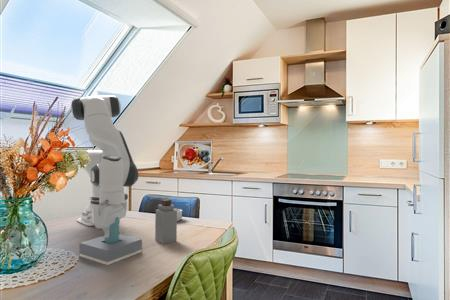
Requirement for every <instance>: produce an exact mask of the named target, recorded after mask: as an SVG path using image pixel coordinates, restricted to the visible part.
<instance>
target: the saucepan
mask: <svg viewBox="0 0 450 300" xmlns="http://www.w3.org/2000/svg"><path fill="white" fill-rule="evenodd" d="M174 210H177V222H180V220H182V219H183V218H182V217H183V209H182V208H181V209H180V208H174Z"/></svg>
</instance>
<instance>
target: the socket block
mask: <svg viewBox="0 0 450 300" xmlns="http://www.w3.org/2000/svg"><path fill="white" fill-rule="evenodd" d="M104 240H105V237H104V235H103V236H99V237H95V238H91V239H88V240H84V241H81V242H79V257H81V258H84V259H87V260H90V261H93V262H97V263H100V264H103V265H106V266H108V265H111V264H112V265H113V264H114V263H117V262H119V261H122V260H124V259H125V260H126V259H127V258H130V257H132V256H134V255H138V254H140V253H143V238H138V237H135V236H131V235H125V234H120V233H119V242H116V243H112V244H108V243H104Z"/></svg>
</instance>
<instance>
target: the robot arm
mask: <svg viewBox="0 0 450 300" xmlns="http://www.w3.org/2000/svg"><path fill="white" fill-rule="evenodd" d="M121 110H122V104H121V101H120V100H119V98H118V97H117V96H116V95H110V94H109V95H94V96H86V97H76V98H73V99H72V101H71V104H70V113H71V114H72V117H73V118H74V119H75V120H76V121H77V120H78V121H84V122H83V123H84V128H85V130H86V134H87V135H88V138H89V143H91V145H92V146H95V147H96V148H98V149H99V150H97V149H94V150H93V149H91V150H86V151H87V152H88V154H89V157H90V159H91V161H90V163H89V164H88V165H87V166H86V167H85V168H83V169H82V170H84V171H85V172H86V173H87V174H88V176H89V177H90V183H91V184H92V196H90V197H89V200H90V202H89V204H88V205H87V206H86V207H85V208H83V210H82V212H81V217H79V218H78V219H76V222H78V223H80V224H81V225H85V226H88V227H91V226H93V227H95V229H98V230H99V229H100V230H103V233H104V234H103V236H104V237H110V236H111V232H110V231H109V228H110V225H111V224H113V223H115V218H117V217H118V218H119V224H120V222H121V219H124V218H126V215H127V209H128V202H127V200H128V198H129V195H128V193H125V188H124V187H126V188H131V187H132V186H134V185H135V184H136V182H138V180H139V171H138V168H137V166H136V164H135V162H134V160H133V157H132V155H131V152H130V150H129V146H128V144H127V141H126V139H125V137H124V135H123V132H122V131H121V130H119V129H117V127H116V126H115V124H114V123H113V120H112V119H113V118H116V117H118V116H119V115H120V113H121Z"/></svg>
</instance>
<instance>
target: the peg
mask: <svg viewBox="0 0 450 300" xmlns="http://www.w3.org/2000/svg"><path fill="white" fill-rule="evenodd" d="M109 231H110V232H111V236H110V237H105V240H104V243H108V244H112V243H116V242H119V234H120V223H119V218H118V217H117V218H115V223H113V224H111V225H110V228H109Z"/></svg>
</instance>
